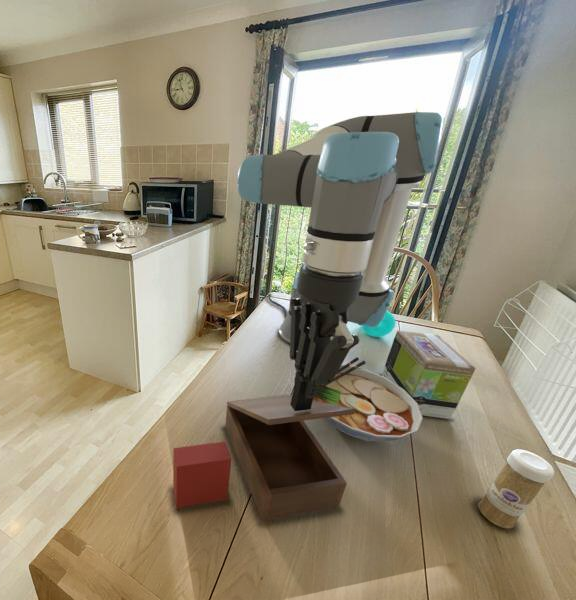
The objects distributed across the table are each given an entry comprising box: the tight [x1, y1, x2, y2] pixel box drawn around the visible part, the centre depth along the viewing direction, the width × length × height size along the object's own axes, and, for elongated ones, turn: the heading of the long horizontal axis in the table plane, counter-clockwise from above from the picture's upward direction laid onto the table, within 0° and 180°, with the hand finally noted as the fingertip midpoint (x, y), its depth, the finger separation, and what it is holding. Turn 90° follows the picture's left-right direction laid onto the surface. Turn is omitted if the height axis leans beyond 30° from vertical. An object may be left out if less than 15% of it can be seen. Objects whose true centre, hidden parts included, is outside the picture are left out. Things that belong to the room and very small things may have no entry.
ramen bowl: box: [313, 356, 424, 442], centre depth 70 cm, size 25×23×8 cm
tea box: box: [381, 330, 476, 420], centre depth 76 cm, size 15×10×15 cm
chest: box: [224, 405, 348, 521], centre depth 60 cm, size 20×14×7 cm
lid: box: [226, 394, 354, 425], centre depth 57 cm, size 21×14×1 cm
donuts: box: [360, 310, 397, 338], centre depth 107 cm, size 10×10×10 cm
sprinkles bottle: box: [477, 448, 555, 530], centre depth 50 cm, size 5×5×14 cm
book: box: [172, 441, 232, 511], centre depth 53 cm, size 4×9×11 cm, turn 99°
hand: (300, 406), depth 50 cm, fingers closed
